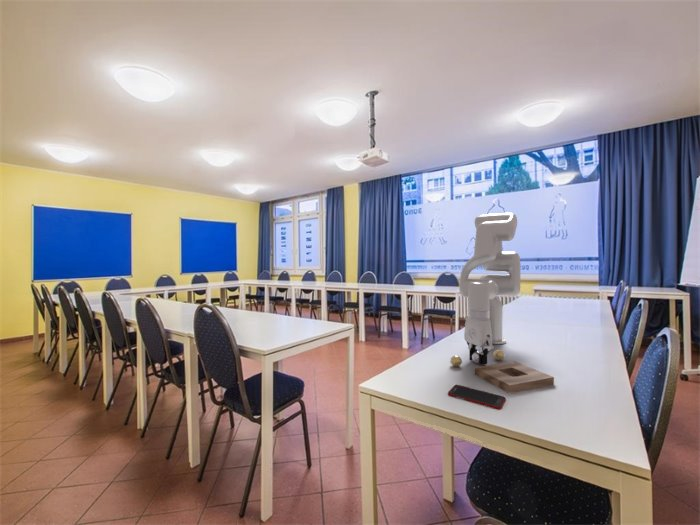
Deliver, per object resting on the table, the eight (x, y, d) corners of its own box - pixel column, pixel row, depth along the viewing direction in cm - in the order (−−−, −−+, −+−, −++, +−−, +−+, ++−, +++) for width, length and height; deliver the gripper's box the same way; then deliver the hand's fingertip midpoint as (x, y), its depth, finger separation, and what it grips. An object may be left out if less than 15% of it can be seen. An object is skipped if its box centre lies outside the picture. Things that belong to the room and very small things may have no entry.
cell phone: (500, 411, 83) (500, 408, 83) (446, 396, 92) (446, 393, 92) (506, 400, 89) (506, 396, 89) (455, 387, 98) (455, 384, 98)
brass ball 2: (490, 359, 122) (491, 349, 122) (498, 357, 123) (499, 347, 123) (498, 362, 118) (498, 352, 118) (506, 361, 119) (507, 351, 119)
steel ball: (469, 361, 119) (469, 350, 119) (478, 360, 120) (478, 349, 120) (477, 366, 115) (477, 354, 115) (487, 364, 116) (487, 352, 116)
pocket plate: (474, 374, 107) (474, 367, 106) (514, 368, 112) (514, 361, 112) (509, 393, 92) (509, 385, 92) (553, 384, 98) (553, 377, 98)
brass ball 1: (448, 365, 116) (448, 354, 115) (457, 363, 117) (457, 353, 117) (455, 369, 112) (455, 358, 112) (464, 367, 113) (464, 356, 113)
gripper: (455, 311, 124) (455, 356, 124) (487, 319, 108) (486, 371, 108) (471, 309, 126) (470, 354, 127) (503, 318, 110) (503, 368, 111)
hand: (478, 361), depth 117 cm, fingers closed on steel ball, 4 cm apart
